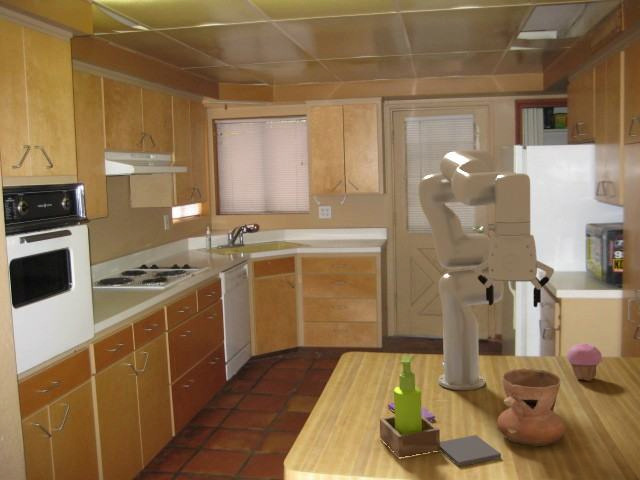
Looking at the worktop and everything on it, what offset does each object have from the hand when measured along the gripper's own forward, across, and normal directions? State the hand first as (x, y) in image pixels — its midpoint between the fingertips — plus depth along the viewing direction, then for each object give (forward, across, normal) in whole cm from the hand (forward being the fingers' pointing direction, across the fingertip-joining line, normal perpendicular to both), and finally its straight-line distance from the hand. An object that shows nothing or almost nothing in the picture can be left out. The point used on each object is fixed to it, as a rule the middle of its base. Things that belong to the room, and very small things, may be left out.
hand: (513, 304), depth 148 cm
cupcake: (+30, +15, +39) cm, 52 cm away
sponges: (+30, -25, +3) cm, 39 cm away
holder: (+30, -21, -14) cm, 39 cm away
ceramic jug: (+30, +4, -3) cm, 30 cm away
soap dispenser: (+30, -21, -14) cm, 39 cm away
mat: (+30, -8, -14) cm, 34 cm away
